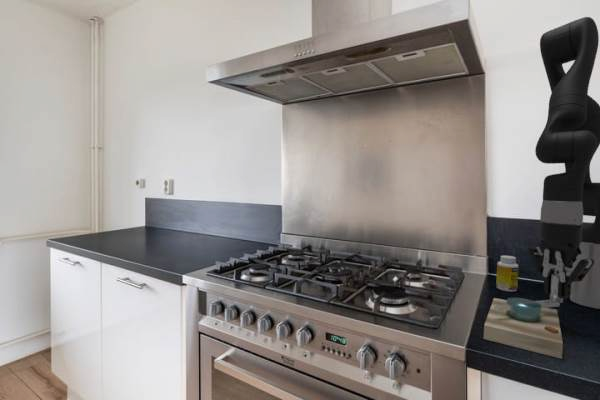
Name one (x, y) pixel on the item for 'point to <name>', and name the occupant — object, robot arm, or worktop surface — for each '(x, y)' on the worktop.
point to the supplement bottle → (507, 274)
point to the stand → (525, 331)
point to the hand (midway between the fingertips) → (556, 295)
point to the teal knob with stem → (532, 304)
